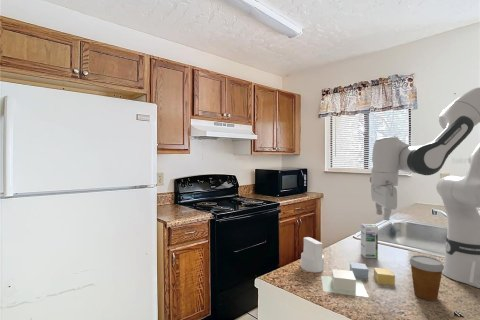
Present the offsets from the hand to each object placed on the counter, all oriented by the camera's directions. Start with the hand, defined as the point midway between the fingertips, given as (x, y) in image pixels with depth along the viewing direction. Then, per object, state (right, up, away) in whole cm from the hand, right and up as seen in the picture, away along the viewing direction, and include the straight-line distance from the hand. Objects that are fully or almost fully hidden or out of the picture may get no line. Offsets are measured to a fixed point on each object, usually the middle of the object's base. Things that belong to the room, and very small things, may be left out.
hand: (382, 217), depth 99 cm
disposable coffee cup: (+9, -24, -11) cm, 28 cm away
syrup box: (+7, -24, +25) cm, 35 cm away
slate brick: (-8, -24, +2) cm, 25 cm away
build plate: (-17, -23, -7) cm, 30 cm away
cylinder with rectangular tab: (-24, -23, +8) cm, 34 cm away
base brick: (-17, -22, -7) cm, 29 cm away
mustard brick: (-1, -24, -2) cm, 24 cm away
